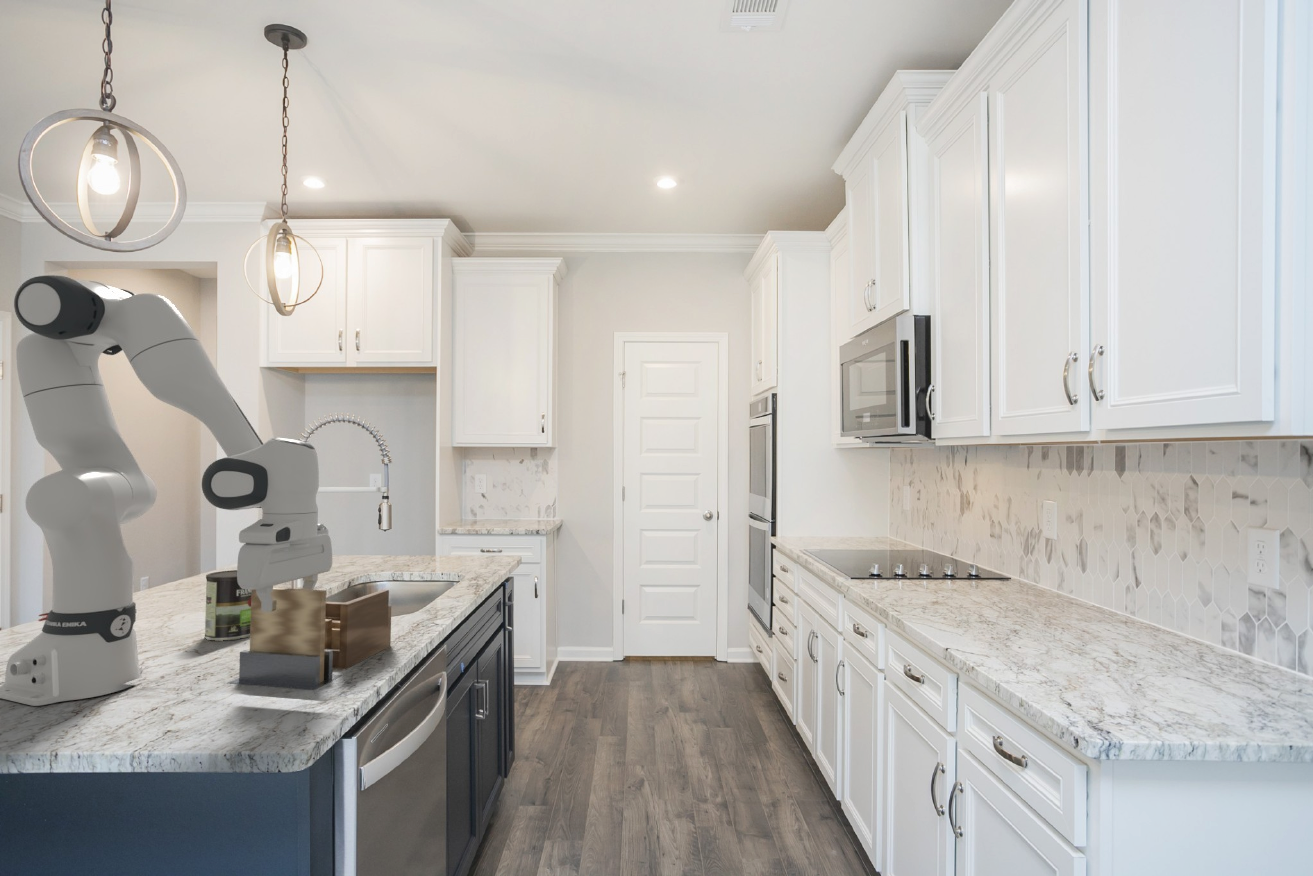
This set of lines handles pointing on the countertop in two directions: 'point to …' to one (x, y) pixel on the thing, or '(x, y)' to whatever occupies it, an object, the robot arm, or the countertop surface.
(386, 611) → the board rack
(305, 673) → the stand
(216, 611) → the coffee can
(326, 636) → the small boards
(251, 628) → the cutting board
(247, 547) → the robot arm
